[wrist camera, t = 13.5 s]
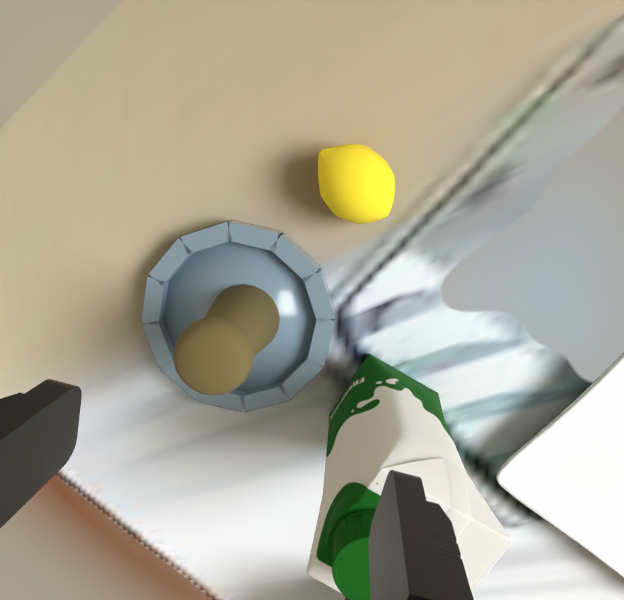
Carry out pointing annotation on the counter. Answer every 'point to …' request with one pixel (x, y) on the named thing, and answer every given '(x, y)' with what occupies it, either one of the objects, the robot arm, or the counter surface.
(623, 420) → the salad plate
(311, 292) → the round dish
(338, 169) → the lemon
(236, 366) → the tan pawn shape
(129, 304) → the counter surface
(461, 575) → the robot arm
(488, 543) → the milk carton
